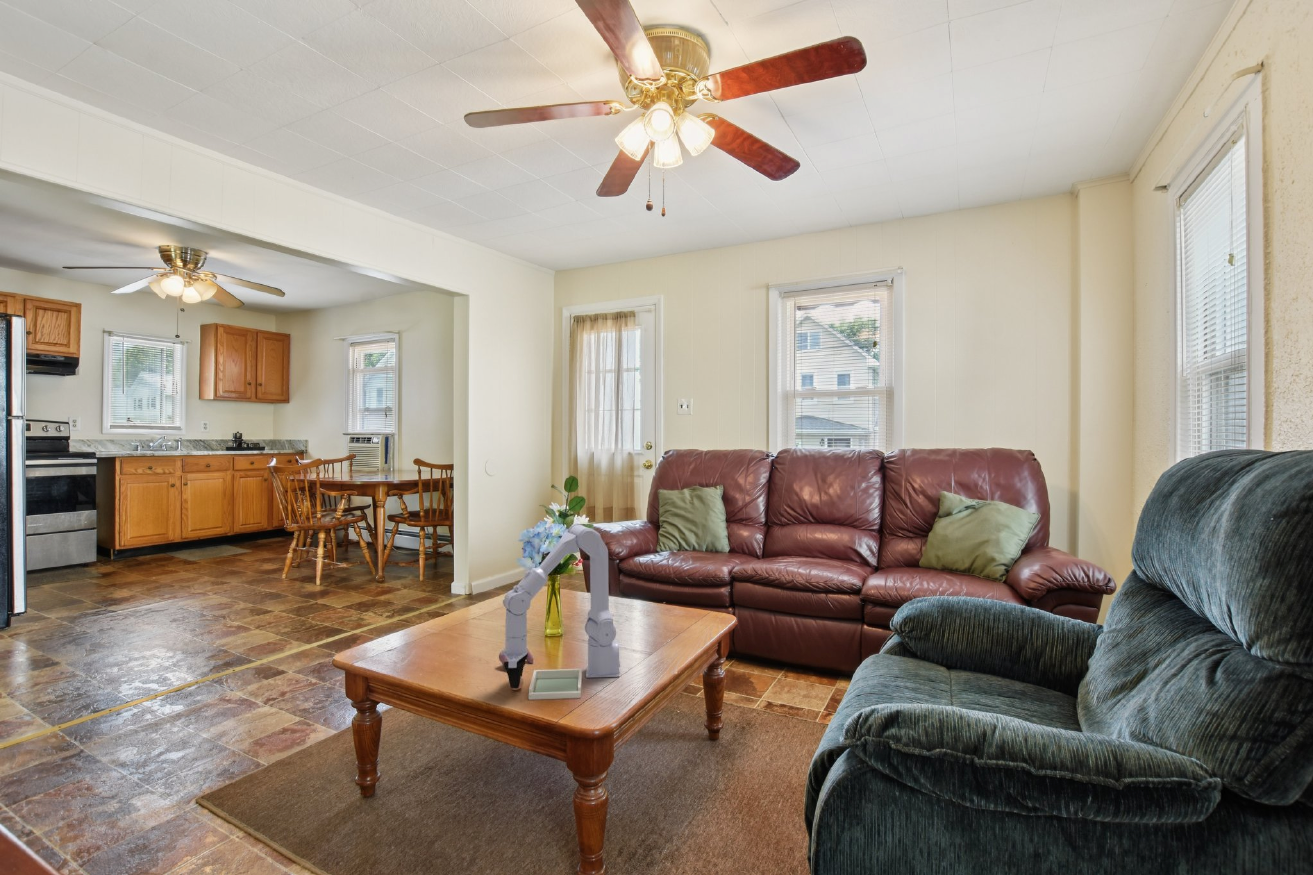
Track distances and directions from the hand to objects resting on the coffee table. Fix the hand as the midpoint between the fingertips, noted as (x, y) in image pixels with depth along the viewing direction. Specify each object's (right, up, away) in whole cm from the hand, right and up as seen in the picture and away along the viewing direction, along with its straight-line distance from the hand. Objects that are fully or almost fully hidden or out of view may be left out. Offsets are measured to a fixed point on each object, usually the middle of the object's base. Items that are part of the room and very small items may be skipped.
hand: (515, 684), depth 167 cm
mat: (+11, -2, +1) cm, 11 cm away
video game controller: (-4, -2, +17) cm, 18 cm away
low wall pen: (+11, -2, +1) cm, 11 cm away
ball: (0, -1, 0) cm, 1 cm away
